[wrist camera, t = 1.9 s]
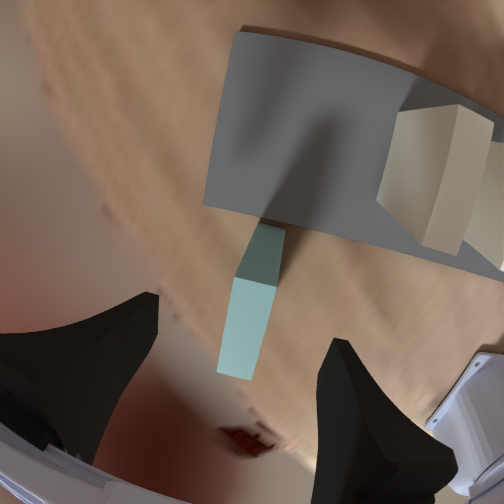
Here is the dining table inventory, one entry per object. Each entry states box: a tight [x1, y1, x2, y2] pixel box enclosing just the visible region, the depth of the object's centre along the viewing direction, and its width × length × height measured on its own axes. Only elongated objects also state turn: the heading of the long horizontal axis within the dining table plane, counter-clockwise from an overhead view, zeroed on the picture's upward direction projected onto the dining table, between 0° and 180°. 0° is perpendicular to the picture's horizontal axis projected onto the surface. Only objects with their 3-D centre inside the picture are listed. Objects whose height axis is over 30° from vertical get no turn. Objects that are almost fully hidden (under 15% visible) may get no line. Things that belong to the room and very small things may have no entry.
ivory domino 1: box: [376, 104, 494, 256], centre depth 12 cm, size 2×5×7 cm, turn 169°
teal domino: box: [217, 223, 286, 381], centre depth 16 cm, size 2×5×7 cm, turn 169°
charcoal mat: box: [203, 31, 504, 282], centre depth 15 cm, size 10×24×1 cm, turn 79°
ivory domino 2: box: [463, 141, 504, 271], centre depth 11 cm, size 2×5×7 cm, turn 169°
